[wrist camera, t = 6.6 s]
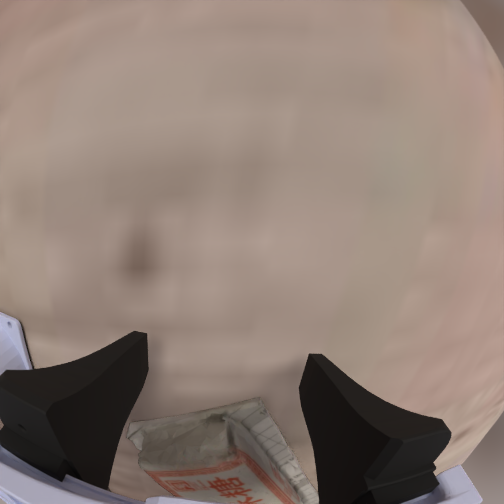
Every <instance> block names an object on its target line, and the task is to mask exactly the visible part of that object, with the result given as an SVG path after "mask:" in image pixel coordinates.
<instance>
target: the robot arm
mask: <svg viewBox="0 0 504 504" xmlns="http://www.w3.org/2000/svg"><path fill="white" fill-rule="evenodd" d="M148 370H149V367H148V345H147V333H142V332H138V331H133V332H131V333H129V334H128V335H126V336H124V337H122V338H121V339H119V340H117V341H115V342H114V343H112V344H110V345H108V346H106V347H104V348H102V349H100V350H98V351H96V352H94V353H92V354H90V355H88V356H85V357H83V358H80V359H77V360H75V361H72V362H68V363H65V364H61V365H56V366H52V367H47V368H40V369H32V366H31V362H30V359H29V355H28V352H27V348H26V344H25V340H24V336H23V332H22V327H21V324H20V322H19V321H18V320H17V319H15V318H13V317H11V316H8V315H6V314H4V313H2V312H0V419H1V421H2V423H3V424H4V426H3V428H2V429H1V430H0V498H1V499H2V500H3V501H4V502H6V503H7V504H236V503H222V502H212V501H203V500H196V499H189V498H183V497H173V496H164V495H162V496H155V497H150V498H147V499H146V501H145V502H143V501H139V500H135V499H132V498H128V497H125V496H122V495H119V494H116V493H113V492H110V491H108V485H109V480H110V475H111V470H112V466H113V462H114V458H115V454H116V450H117V447H118V443H119V440H120V437H121V434H122V431H123V428H124V425H125V423H126V421H127V419H128V417H129V415H130V412H131V410H132V408H133V406H134V404H135V402H136V400H137V398H138V396H139V394H140V392H141V390H142V388H143V386H144V383H145V380H146V376H147V373H148ZM299 394H300V401H301V407H302V411H303V414H304V418H305V421H306V425H307V428H308V431H309V435H310V438H311V442H312V446H313V450H314V457H315V464H316V472H317V481H318V495H319V504H480V503H481V502H482V500H483V499H482V498H481V496H480V495H479V493H478V491H477V490H476V488H475V487H474V485H473V484H472V482H471V480H470V479H469V478H468V476H467V474H466V473H465V471H464V470H463V468H462V467H461V465H457V466H455V467H452V468H450V469H448V470H446V471H443V472H441V473H440V474H438V475H437V476H435V475H434V473H433V471H435V469H436V466H435V464H434V463H433V462H434V461H435V460H436V459H437V457H438V456H439V455H440V454H441V452H442V451H443V450H444V449H445V447H446V446H447V445H448V443H449V441H450V438H451V431H450V430H449V428H448V427H447V426H446V424H445V423H444V421H443V420H442V419H438V418H433V417H428V416H424V415H420V414H417V413H413V412H410V411H407V410H405V409H402V408H399V407H397V406H395V405H393V404H390V403H388V402H386V401H384V400H382V399H381V398H379V397H377V396H375V395H374V394H372V393H370V392H369V391H367V390H366V389H364V388H363V387H362V386H360V385H359V384H357V383H356V382H355V381H354V380H352V379H351V378H350V377H348V376H347V375H346V374H345V373H344V372H343V371H341V370H340V369H339V368H338V367H337V366H336V365H334V364H333V363H332V362H331V361H330V360H329V359H327V358H326V357H325V356H324V355H322V354H309V355H308V359H307V362H306V366H305V369H304V372H303V376H302V379H301V382H300V385H299Z"/></svg>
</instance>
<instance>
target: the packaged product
mask: <svg viewBox="0 0 504 504" xmlns="http://www.w3.org/2000/svg"><path fill="white" fill-rule="evenodd" d="M126 438H127V439H130V440H131V441H133V442H134V444H135V446H136V447H137V449H139V450H140V451H141V452H140V453H139V454H138V455H139V457H140V458H139V460H138V464H139V466H140V468H141V469H143V470H144V471H145V472H146V473H147V474H148V475H150V476H151V477H152V478H153V479H154V480H155V481H156V482H157V483H158V484H159V485H161V486H162V487H163V488H165V489H166V490H168V491H169V492H170V493H172V494H173V495H174V496H175V497H183V498H189V499H196V500H203V501H212V502H222V503H236V504H319V495H318V493H317V491H316V489H315V488H314V487H313V486H312V485H311V483H310V482H309V480H308V478H307V477H306V475H305V473H304V472H303V470H302V468H301V467H300V465H299V463H298V460H297V458H296V456H295V455H294V453H293V451H292V450H291V449H290V448H289V447H288V446H287V444H286V442H285V440H284V438H283V436H282V434H281V432H280V430H279V428H278V427H277V425H276V424H275V422H274V421H273V419H272V417H271V416H270V414H269V413H268V411H267V410H266V408H265V406H264V404H263V402H262V400H261V399H260V398H259V397H258V398H254V399H250V400H246V401H242V402H238V403H234V404H230V405H226V406H222V407H217V408H213V409H208V410H203V411H198V412H193V413H188V414H184V415H179V416H172V417H165V418H159V419H152V420H145V421H137V422H130V426H129V430H128V433H127V437H126Z"/></svg>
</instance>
